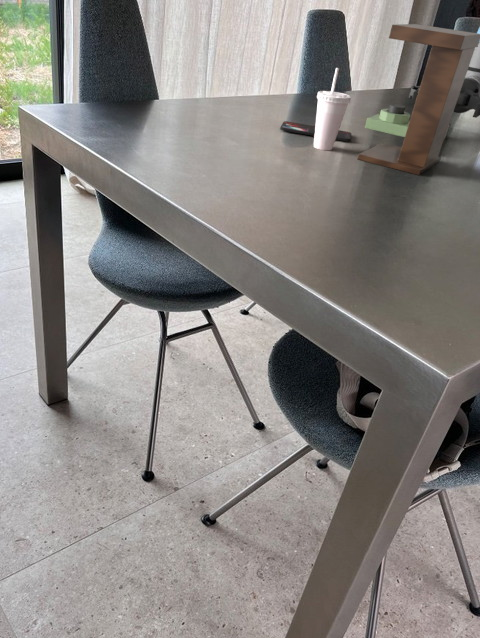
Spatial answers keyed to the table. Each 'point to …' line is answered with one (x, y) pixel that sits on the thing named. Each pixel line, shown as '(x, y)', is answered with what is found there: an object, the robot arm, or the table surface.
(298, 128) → the smartphone
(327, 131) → the smoothie
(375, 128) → the switch box
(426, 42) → the shelf
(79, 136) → the table surface
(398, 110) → the button
